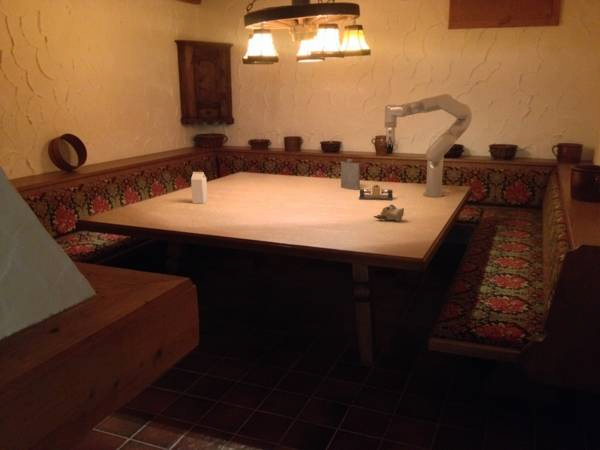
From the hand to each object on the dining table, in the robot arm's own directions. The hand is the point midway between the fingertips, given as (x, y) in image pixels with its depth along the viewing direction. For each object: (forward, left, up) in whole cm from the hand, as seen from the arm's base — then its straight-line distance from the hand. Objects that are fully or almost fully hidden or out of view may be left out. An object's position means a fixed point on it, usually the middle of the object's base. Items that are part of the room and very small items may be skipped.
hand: (389, 152), depth 336 cm
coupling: (+7, +18, -25) cm, 31 cm away
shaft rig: (+7, +18, -26) cm, 33 cm away
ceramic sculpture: (-4, +70, -27) cm, 75 cm away
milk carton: (+113, +42, -26) cm, 123 cm away
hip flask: (+27, -12, -27) cm, 40 cm away
